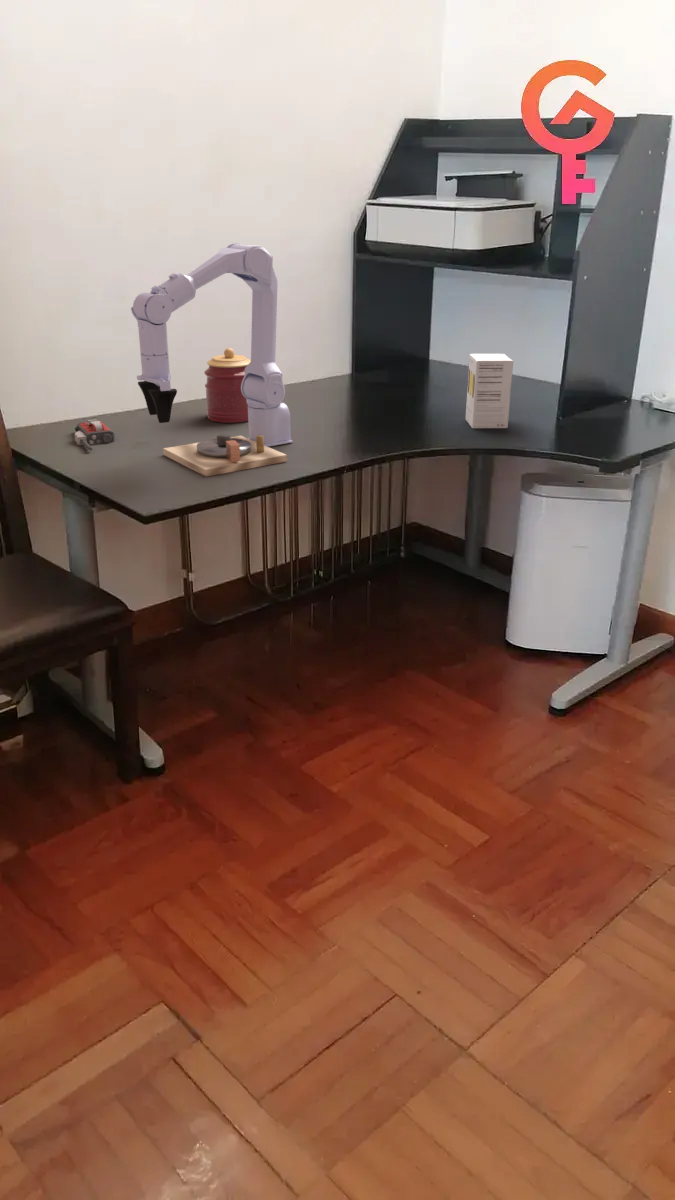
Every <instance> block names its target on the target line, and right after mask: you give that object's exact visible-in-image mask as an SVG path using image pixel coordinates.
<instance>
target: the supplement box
mask: <svg viewBox="0 0 675 1200" xmlns="http://www.w3.org/2000/svg"><path fill="white" fill-rule="evenodd" d="M468 362H469V363H468V375H467V388H466V389H467V390H466V406H465V421H466V422H467V423H468V425H469V426H470V427H471V429H508V427H509V417H510V416H509V414H510V406H511V405H510V404H511V391H512V389H511V388H512V381H513V369H514V360H513V359H511V358H510V357H509V356H508V355H506V354H505V353H469V358H468Z"/></svg>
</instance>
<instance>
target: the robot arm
mask: <svg viewBox="0 0 675 1200" xmlns="http://www.w3.org/2000/svg"><path fill="white" fill-rule="evenodd" d="M273 257H274V256H273V255H271V253H270V252H269V251H268V250H267V249H266V248H265V247H263V246H261V245H258V244H257V245H249V244H240V243H236V242H235V243H234V242H233V243H230V244H228V245H227V246H226V247H223V248H220V249H219V251H218V252H217V253H216V254H214V255H213V256H211V257H210V258H209V259H208V260H206V261H204V262H203V263H202V264H200V265H199V266H198V267H196V268H195V269H194V270H192V271H190V273H188V274H184V273H181V272H180V273H173V272H172V273H171V274H170V275H169V276H168V278H169V279H167V280H166V281H164V282H162V283H161V284H158V286H157V285H154V286H152V287H151V288H150V289H151V290H150V292H140V293H139V294H138V295H137V296H136V297H135V300H133V304H132V307H130V310H131V314H132V315H133V317H134V318H135V319H136V322H137V327H138V338H139V339H138V340H139V341H138V342H139V350H140V360H141V361H140V364H141V374H140V375H136V380H138V382H137V385H138V387H139V388H140V390H141V392H142V394H143V397H144V400H145V404H146V407H147V411H148V414H149V415H150V416H155V415H156V417H157V421H158V423H159V424H165V423H170V420H171V415H172V409H173V408H172V407H173V404H174V400H175V397H176V396H177V393H178V390H177V389H176V388H172V387H171V379H172V374H171V372H170V370H171V369H170V358H169V343H168V341H169V340H168V331H167V328H168V327H167V322H168V321H169V319H170V318H171V316H172V314H173V312H175V311H177V310H178V309H180V308H181V307H183V306H185V305H186V304H187V303H189V302H191V301H192V300H193V299H195V298H196V292H197V290H198V289H200V288H202V287H203V286H205V285H207V284H209V283H210V282H212V281H214V280H216V279H218V278H220V277H221V276H223V275H225V274H231V275H232V274H233V276H236V277H237V278H240V279H242V281H244V283H246V284H247V286H249V288H250V289H251V290H252V292H251V296H252V297H251V302H252V303H251V337H250V338H251V339H250V341H251V342H250V343H251V345H250V348H251V349H250V360H251V362H250V363H249V364H248V366H247V367H246V368H245V375H244V378H243V381H242V383H241V392H242V394H243V396H244V397H245V398H246V399H247V404H248V421H247V423H248V437H247V438H248V439H250V440H253V441H255V442H256V436H258V435H262V436H264V445H265V446H267V447H269V448H270V447H274V446H279V445H286V444H291V443H293V439H292V438H291V437H292V436H291V435H292V434H291V431H292V430H291V412H290V410H289V406H287V404H286V403H285V402H283V401H284V399H285V396H286V387H285V385H284V382H283V372H282V371H281V370H280V368H279V366H278V365H277V363H276V346H277V316H278V315H277V312H278V309H277V307H278V286H279V285H278V278H277V276H276V272H275V269H274V267H273V260H274V259H273Z"/></svg>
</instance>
